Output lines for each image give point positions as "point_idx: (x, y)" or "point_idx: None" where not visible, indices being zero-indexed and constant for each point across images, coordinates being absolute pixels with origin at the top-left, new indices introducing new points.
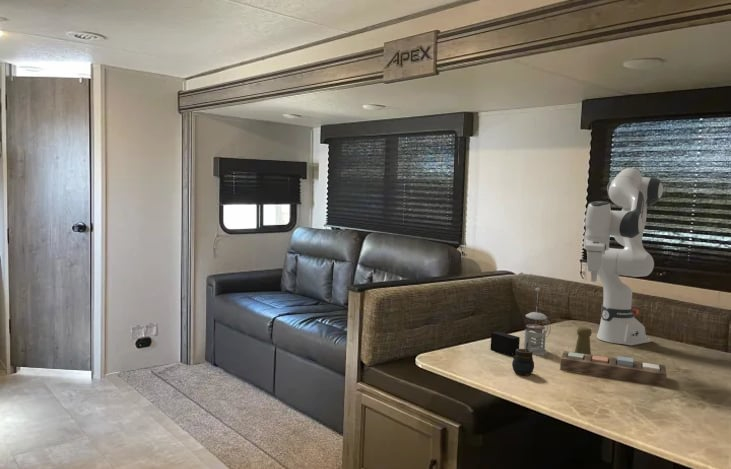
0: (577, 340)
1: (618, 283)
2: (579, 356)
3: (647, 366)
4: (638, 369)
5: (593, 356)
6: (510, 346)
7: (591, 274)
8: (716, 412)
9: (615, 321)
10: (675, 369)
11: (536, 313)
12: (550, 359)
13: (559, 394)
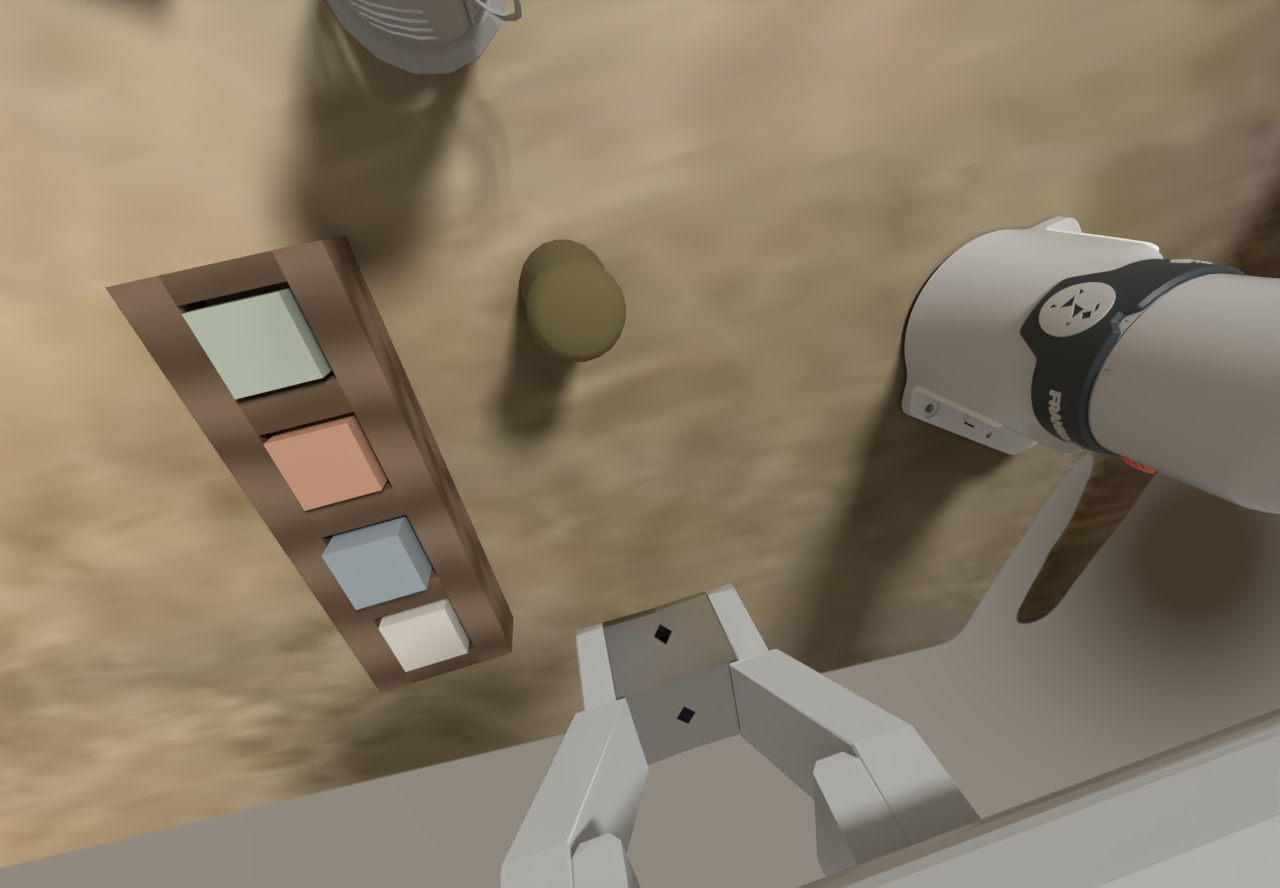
0: (549, 265)
1: None
2: (239, 377)
3: (396, 637)
4: (342, 618)
5: (325, 433)
6: None
7: (537, 795)
8: (258, 793)
9: (1012, 367)
10: None
11: None
12: (313, 150)
13: None
